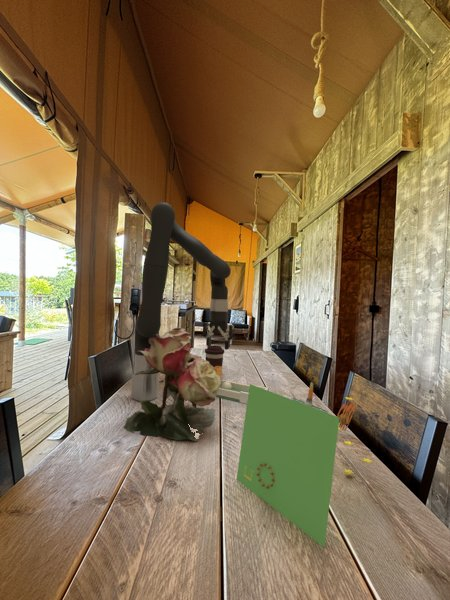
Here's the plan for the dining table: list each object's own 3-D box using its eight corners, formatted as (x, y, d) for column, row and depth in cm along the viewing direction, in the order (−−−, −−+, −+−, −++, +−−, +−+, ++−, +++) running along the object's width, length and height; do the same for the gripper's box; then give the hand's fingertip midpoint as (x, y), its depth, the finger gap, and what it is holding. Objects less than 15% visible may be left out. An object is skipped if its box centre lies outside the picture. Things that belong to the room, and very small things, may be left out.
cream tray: (259, 406, 106) (259, 396, 106) (204, 394, 117) (204, 384, 117) (268, 397, 116) (268, 388, 116) (217, 386, 127) (217, 377, 127)
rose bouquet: (212, 446, 77) (217, 336, 76) (115, 432, 83) (119, 330, 82) (229, 409, 102) (233, 326, 102) (154, 400, 108) (157, 322, 107)
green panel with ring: (382, 504, 63) (393, 395, 64) (322, 550, 47) (339, 403, 48) (299, 458, 79) (310, 372, 81) (234, 480, 63) (249, 373, 65)
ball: (228, 393, 116) (229, 383, 115) (220, 391, 117) (220, 382, 117) (232, 390, 119) (233, 381, 119) (224, 389, 121) (224, 379, 121)
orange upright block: (215, 390, 117) (216, 369, 117) (210, 389, 118) (210, 368, 118) (222, 387, 123) (222, 366, 122) (216, 385, 124) (217, 365, 124)
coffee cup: (223, 379, 138) (224, 348, 138) (202, 378, 138) (203, 347, 138) (223, 373, 148) (224, 345, 148) (204, 372, 148) (205, 344, 148)
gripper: (199, 309, 120) (198, 347, 120) (230, 311, 113) (228, 351, 114) (209, 308, 126) (207, 345, 127) (238, 310, 120) (236, 348, 120)
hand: (217, 348), depth 120 cm, fingers open, 8 cm apart
